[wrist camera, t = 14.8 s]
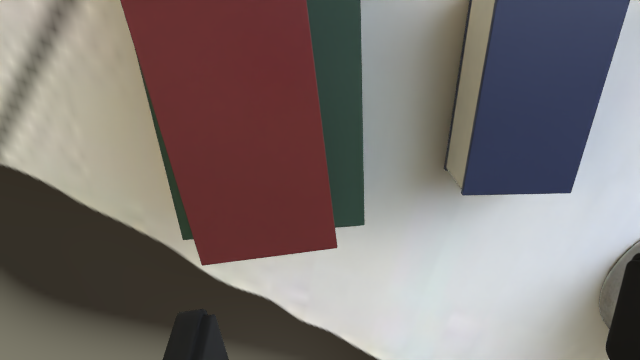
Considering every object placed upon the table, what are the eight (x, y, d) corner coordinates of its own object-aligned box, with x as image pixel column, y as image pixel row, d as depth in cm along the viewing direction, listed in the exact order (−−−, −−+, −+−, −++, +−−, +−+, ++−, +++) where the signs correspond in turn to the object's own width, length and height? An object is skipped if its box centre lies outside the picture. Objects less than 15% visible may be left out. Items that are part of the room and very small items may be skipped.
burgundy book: (300, -35, 20) (302, -32, 17) (331, 207, 26) (337, 248, 23) (148, -15, 20) (117, -7, 17) (214, 223, 26) (201, 265, 23)
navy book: (588, -12, 24) (632, -7, 21) (540, 167, 30) (571, 193, 26) (471, -13, 24) (498, -7, 21) (443, 168, 29) (462, 195, 26)
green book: (350, -76, 22) (359, -80, 19) (357, 196, 30) (364, 225, 27) (133, -61, 22) (107, -62, 19) (194, 210, 30) (182, 240, 27)
